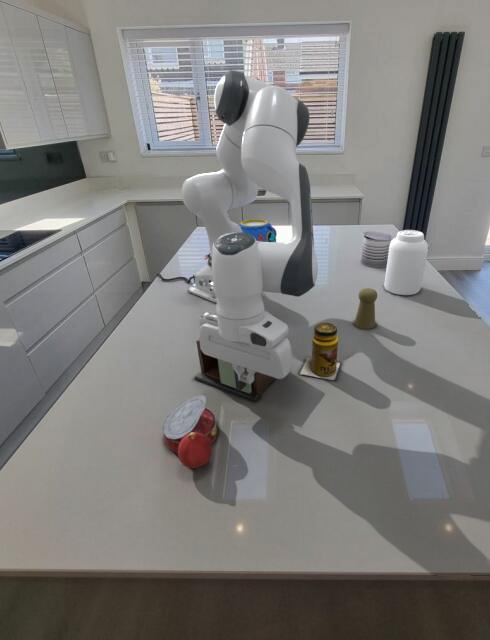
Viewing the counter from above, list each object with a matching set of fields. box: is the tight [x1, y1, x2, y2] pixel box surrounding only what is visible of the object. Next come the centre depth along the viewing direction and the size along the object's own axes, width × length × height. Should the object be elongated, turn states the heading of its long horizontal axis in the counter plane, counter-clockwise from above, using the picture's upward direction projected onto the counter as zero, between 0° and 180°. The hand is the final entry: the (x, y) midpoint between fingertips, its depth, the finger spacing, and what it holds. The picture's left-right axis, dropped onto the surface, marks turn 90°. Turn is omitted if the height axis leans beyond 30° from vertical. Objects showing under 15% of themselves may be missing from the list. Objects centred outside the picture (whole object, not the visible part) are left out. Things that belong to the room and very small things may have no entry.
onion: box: [177, 432, 213, 469], centre depth 65 cm, size 6×6×8 cm
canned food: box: [162, 394, 218, 454], centre depth 71 cm, size 11×10×10 cm
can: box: [361, 230, 394, 268], centre depth 153 cm, size 11×11×12 cm
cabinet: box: [194, 337, 275, 402], centre depth 87 cm, size 17×14×10 cm
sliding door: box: [218, 359, 252, 394], centre depth 81 cm, size 8×3×9 cm, turn 61°
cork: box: [354, 287, 378, 330], centre depth 108 cm, size 6×6×11 cm
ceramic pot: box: [237, 218, 278, 242], centre depth 159 cm, size 18×18×15 cm
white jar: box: [383, 229, 429, 296], centre depth 127 cm, size 12×12×20 cm
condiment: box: [299, 322, 341, 381], centre depth 88 cm, size 7×8×12 cm
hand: (246, 380), depth 78 cm, fingers closed
